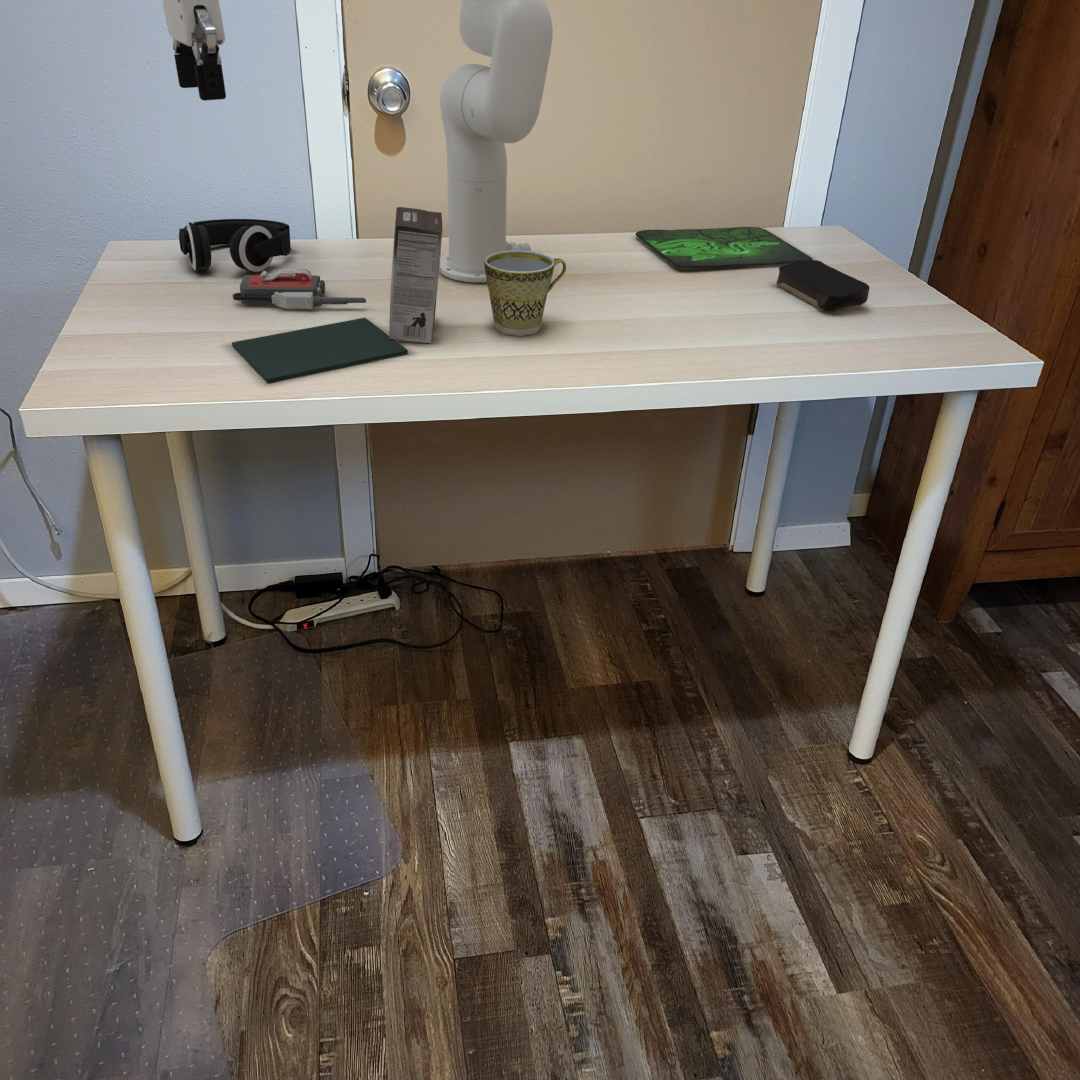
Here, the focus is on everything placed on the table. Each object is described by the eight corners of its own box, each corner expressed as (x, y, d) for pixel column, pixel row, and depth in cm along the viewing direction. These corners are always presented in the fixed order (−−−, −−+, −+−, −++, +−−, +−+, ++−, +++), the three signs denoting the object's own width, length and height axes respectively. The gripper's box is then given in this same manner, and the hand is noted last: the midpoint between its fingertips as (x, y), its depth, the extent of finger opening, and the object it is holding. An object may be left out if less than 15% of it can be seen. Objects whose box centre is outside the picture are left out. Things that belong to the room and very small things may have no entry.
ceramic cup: (506, 345, 138) (507, 276, 133) (472, 322, 145) (471, 255, 140) (581, 329, 144) (585, 262, 139) (545, 308, 151) (547, 243, 146)
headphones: (160, 225, 153) (195, 206, 171) (167, 276, 156) (200, 252, 174) (275, 229, 154) (297, 209, 172) (279, 279, 157) (301, 255, 175)
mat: (365, 321, 144) (365, 317, 144) (408, 353, 135) (407, 349, 134) (232, 346, 135) (231, 342, 135) (267, 383, 125) (267, 379, 125)
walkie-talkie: (230, 311, 146) (366, 312, 147) (226, 282, 143) (364, 283, 145) (241, 291, 153) (370, 292, 155) (237, 263, 151) (368, 264, 152)
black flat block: (871, 311, 155) (876, 288, 153) (827, 316, 152) (832, 293, 150) (811, 279, 167) (815, 257, 165) (769, 283, 164) (772, 262, 162)
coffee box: (389, 316, 144) (396, 205, 136) (433, 320, 145) (442, 211, 137) (387, 339, 137) (394, 223, 128) (433, 344, 138) (443, 229, 129)
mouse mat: (760, 228, 192) (761, 222, 191) (818, 263, 174) (819, 257, 174) (631, 235, 185) (631, 230, 184) (677, 272, 167) (678, 266, 167)
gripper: (230, -57, 113) (251, 102, 123) (190, -65, 125) (212, 81, 135) (164, -57, 110) (191, 107, 119) (129, -65, 122) (156, 84, 132)
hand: (202, 93), depth 127 cm, fingers open, 9 cm apart
